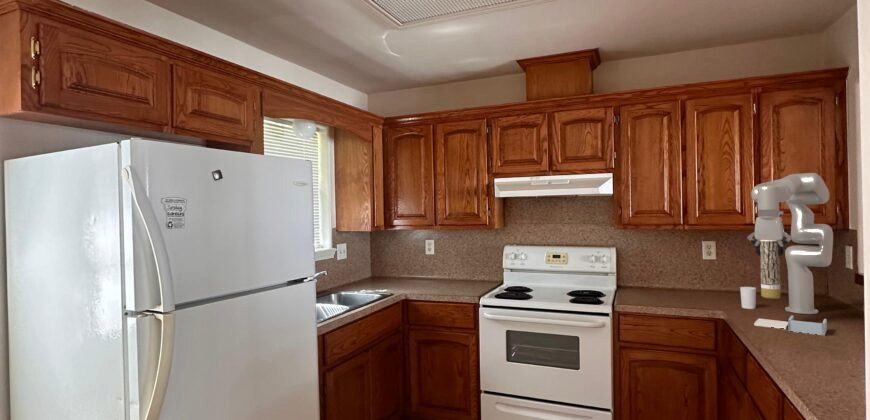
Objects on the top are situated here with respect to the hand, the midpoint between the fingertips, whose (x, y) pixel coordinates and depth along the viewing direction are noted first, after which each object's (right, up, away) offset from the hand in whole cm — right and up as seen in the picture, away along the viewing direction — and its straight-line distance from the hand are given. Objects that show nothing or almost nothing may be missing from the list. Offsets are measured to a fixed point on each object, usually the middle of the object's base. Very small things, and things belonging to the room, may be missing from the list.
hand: (769, 255), depth 206 cm
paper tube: (0, -18, 0) cm, 18 cm away
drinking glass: (+14, -30, +35) cm, 48 cm away
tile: (+1, -30, 0) cm, 30 cm away
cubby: (+8, -30, -11) cm, 33 cm away
